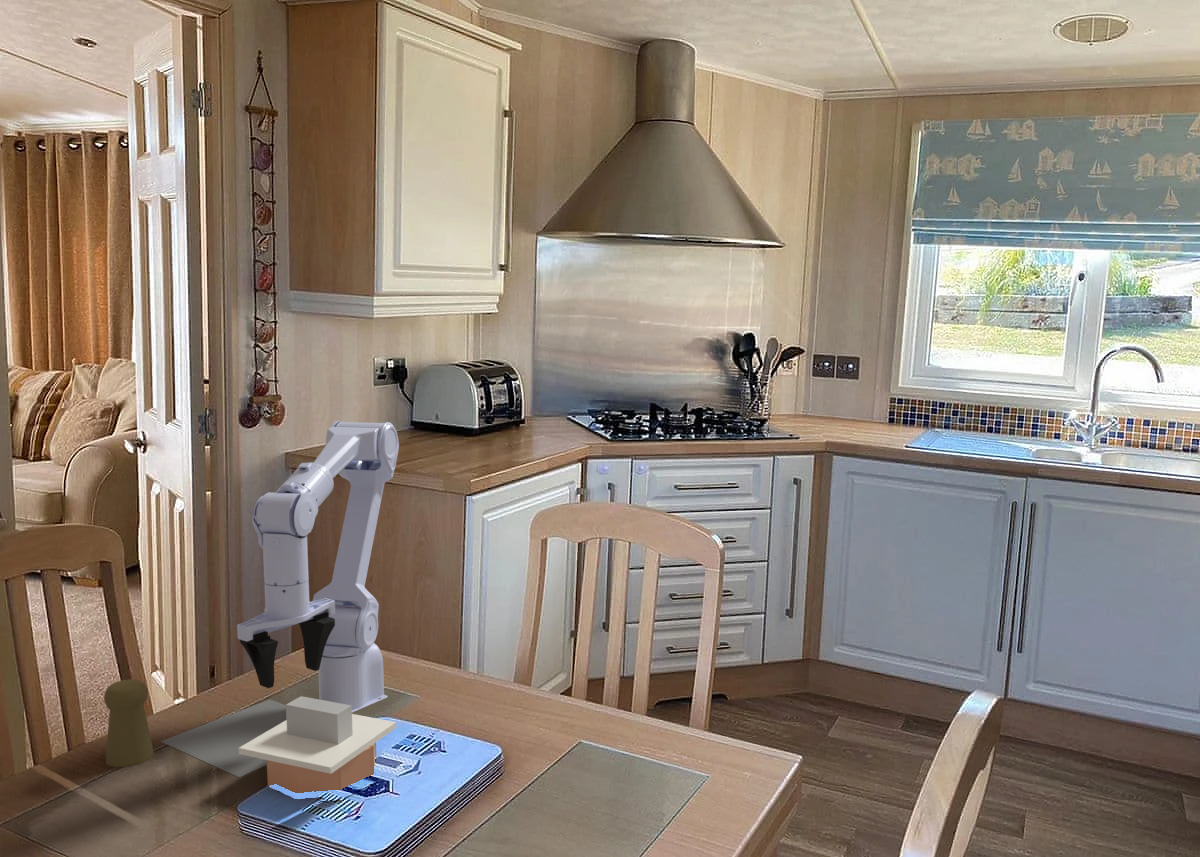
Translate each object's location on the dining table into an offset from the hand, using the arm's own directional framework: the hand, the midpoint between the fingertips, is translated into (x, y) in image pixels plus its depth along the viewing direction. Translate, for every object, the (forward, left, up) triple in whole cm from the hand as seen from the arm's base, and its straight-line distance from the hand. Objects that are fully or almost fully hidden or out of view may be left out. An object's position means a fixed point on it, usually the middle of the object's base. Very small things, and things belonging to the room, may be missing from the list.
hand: (290, 677), depth 136 cm
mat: (+1, -7, -10) cm, 13 cm away
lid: (+3, +10, -5) cm, 11 cm away
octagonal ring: (+3, +10, -10) cm, 15 cm away
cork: (+15, -15, -11) cm, 24 cm away
